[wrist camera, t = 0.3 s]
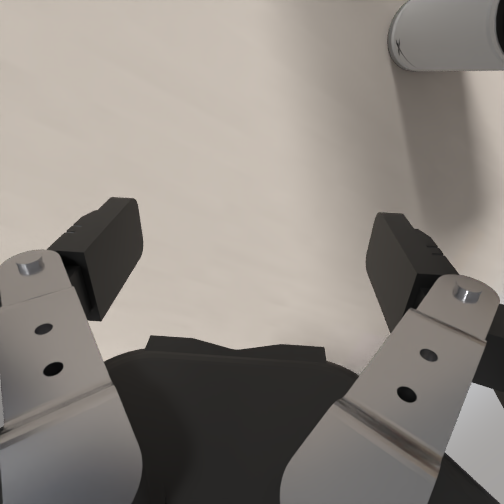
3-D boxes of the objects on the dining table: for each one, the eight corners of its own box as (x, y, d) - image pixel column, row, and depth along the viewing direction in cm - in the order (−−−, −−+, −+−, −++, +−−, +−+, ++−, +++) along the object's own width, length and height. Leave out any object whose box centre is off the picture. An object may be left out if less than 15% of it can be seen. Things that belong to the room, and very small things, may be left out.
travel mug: (376, 68, 35) (509, 63, 17) (400, -13, 32) (592, -122, 14) (436, 80, 35) (626, 88, 17) (465, 2, 32) (730, -86, 15)
